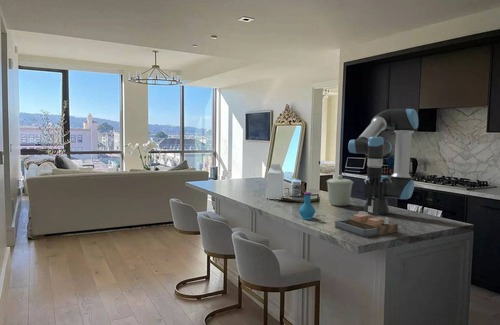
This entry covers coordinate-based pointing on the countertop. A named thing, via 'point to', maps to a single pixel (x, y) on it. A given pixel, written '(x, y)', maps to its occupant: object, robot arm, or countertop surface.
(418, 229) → the countertop surface
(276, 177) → the milk
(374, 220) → the tile
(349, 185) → the canister
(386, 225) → the board
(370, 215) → the grey bar
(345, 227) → the tray
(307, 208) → the perfume bottle
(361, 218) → the tile
